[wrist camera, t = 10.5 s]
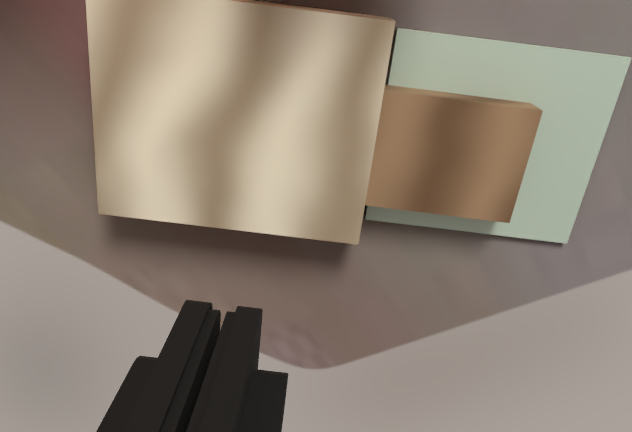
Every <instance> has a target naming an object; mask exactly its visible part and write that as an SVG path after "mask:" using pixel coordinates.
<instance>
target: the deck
mask: <svg viewBox="0 0 632 432" xmlns="http://www.w3.org/2000/svg"><path fill="white" fill-rule="evenodd" d="M86 12H87V29H88V46H89V62H90V79H91V96H92V113H93V130H94V147H95V164H96V181H97V198H98V214H104V215H112V216H121V217H129V218H138V219H146V220H155V221H163V222H171V223H180V224H188V225H197V226H205V227H214V228H222V229H230V230H239V231H247V232H256V233H264V234H273V235H281V236H289V237H298V238H306V239H315V240H323V241H332V242H340V243H348V244H357V245H358V244H359V238H360V232H361V226H362V220H363V214H364V208H365V202H366V196H367V190H368V184H369V178H370V172H371V166H372V160H373V154H374V148H375V142H376V136H377V130H378V124H379V118H380V112H381V106H382V100H383V94H384V88H385V82H386V76H387V70H388V64H389V58H390V52H391V46H392V40H393V34H394V28H395V22H396V21H394V20H393V19H391V18H390V17H382V16H374V15H366V14H358V13H350V12H342V11H334V10H326V9H318V8H310V7H302V6H294V5H286V4H278V3H270V2H262V1H254V0H86Z"/></svg>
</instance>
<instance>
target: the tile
mask: <svg viewBox="0 0 632 432" xmlns="http://www.w3.org/2000/svg"><path fill="white" fill-rule="evenodd" d="M542 112H543V110H541V109H540V108H538V107H536V106H535V105H533V104H532V103H526V102H518V101H510V100H503V99H495V98H487V97H479V96H471V95H463V94H455V93H448V92H440V91H432V90H424V89H416V88H408V87H401V86H393V85H385V88H384V94H383V100H382V106H381V112H380V118H379V124H378V130H377V136H376V142H375V148H374V154H373V160H372V166H371V172H370V178H369V184H368V190H367V196H366V202H365V205H366V206H374V207H383V208H391V209H399V210H407V211H415V212H423V213H431V214H439V215H447V216H456V217H464V218H472V219H480V220H488V221H496V222H504V223H510V220H511V216H512V213H513V210H514V206H515V203H516V200H517V196H518V193H519V190H520V186H521V183H522V180H523V176H524V173H525V169H526V166H527V163H528V159H529V156H530V153H531V149H532V146H533V143H534V139H535V136H536V132H537V129H538V126H539V122H540V119H541V116H542Z"/></svg>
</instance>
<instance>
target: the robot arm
mask: <svg viewBox="0 0 632 432" xmlns="http://www.w3.org/2000/svg"><path fill="white" fill-rule="evenodd" d="M220 317H221V313H220V310H212V303H209V302H200V301H192V300H186V301H185V303H184V305H183V307H182V309H181V311H180V313H179V315H178V317H177V319H176V321H175V323H174V325H173V327H172V330H171V332H170V334H169V336H168V338H167V340H166V342H165V344H164V346H163V349H162V351H161V353H160V355H159V357H158V358H154V357H145V356H139V357H138V358H137V359H136V360H135V361H134V363H133V365H132V366H131V368H130V370H129V372H128V374H127V376H126V378H125V380H124V381H123V383H122V385H121V387H120V389H119V391H118V393H117V394H116V396H115V398H114V400H113V402H112V404H111V406H110V408H109V409H108V411H107V413H106V415H105V417H104V419H103V421H102V422H101V424H100V426H99V428H98V430H97V432H281V430H282V422H283V414H284V406H285V397H286V389H287V380H288V373H282V372H273V371H264V370H258V359H259V347H260V336H261V324H262V309H259V308H251V307H243V306H238V307H237V309H236V312H227V313H226V316H225V319H224V322H223V325H222V327H221V330H220Z"/></svg>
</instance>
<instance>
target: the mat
mask: <svg viewBox="0 0 632 432" xmlns="http://www.w3.org/2000/svg"><path fill="white" fill-rule="evenodd" d="M630 61H631V57H625V56H618V55H610V54H602V53H594V52H586V51H578V50H570V49H562V48H554V47H546V46H538V45H530V44H522V43H514V42H506V41H498V40H490V39H482V38H474V37H466V36H458V35H450V34H442V33H434V32H426V31H418V30H410V29H402V28H397V30H396V36H395V42H394V48H393V54H392V60H391V66H390V72H389V78H388V84H387V85H393V86H401V87H408V88H416V89H424V90H432V91H440V92H448V93H455V94H463V95H471V96H479V97H487V98H495V99H503V100H510V101H518V102H526V103H532V104H533V105H535V106H536V107H538V108H540V109H541V110H543V112H542V116H541V119H540V122H539V126H538V129H537V132H536V136H535V139H534V143H533V146H532V149H531V153H530V156H529V159H528V163H527V166H526V169H525V173H524V176H523V180H522V183H521V186H520V190H519V193H518V196H517V200H516V203H515V206H514V210H513V213H512V216H511V220H510V223H504V222H496V221H488V220H480V219H472V218H464V217H456V216H447V215H439V214H431V213H423V212H415V211H407V210H399V209H391V208H383V207H374V206H367V208H366V214H365V220H374V221H382V222H390V223H399V224H407V225H415V226H424V227H432V228H441V229H449V230H457V231H466V232H474V233H482V234H491V235H499V236H508V237H516V238H524V239H533V240H541V241H549V242H558V243H566V244H567V242H568V239H569V236H570V233H571V230H572V227H573V225H574V222H575V219H576V216H577V213H578V210H579V207H580V205H581V202H582V199H583V196H584V193H585V190H586V187H587V184H588V182H589V179H590V176H591V173H592V170H593V167H594V164H595V162H596V159H597V156H598V153H599V150H600V147H601V144H602V142H603V139H604V136H605V133H606V130H607V127H608V124H609V121H610V119H611V116H612V113H613V110H614V107H615V104H616V101H617V99H618V96H619V93H620V90H621V87H622V84H623V81H624V78H625V76H626V73H627V70H628V67H629V64H630Z"/></svg>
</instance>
